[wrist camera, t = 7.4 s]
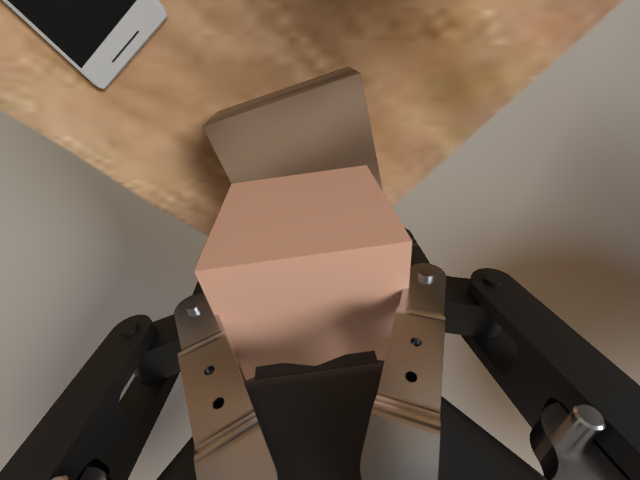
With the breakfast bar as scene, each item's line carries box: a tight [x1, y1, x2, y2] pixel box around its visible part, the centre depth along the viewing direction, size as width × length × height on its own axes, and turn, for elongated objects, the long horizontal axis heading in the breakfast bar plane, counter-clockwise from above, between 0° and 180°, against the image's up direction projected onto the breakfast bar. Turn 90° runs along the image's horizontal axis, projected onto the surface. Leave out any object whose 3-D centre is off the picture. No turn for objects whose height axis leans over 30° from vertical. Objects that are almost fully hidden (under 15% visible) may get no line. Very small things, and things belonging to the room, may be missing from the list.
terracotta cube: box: [194, 165, 412, 380], centre depth 12 cm, size 6×6×6 cm
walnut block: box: [203, 67, 383, 191], centre depth 23 cm, size 10×10×5 cm
